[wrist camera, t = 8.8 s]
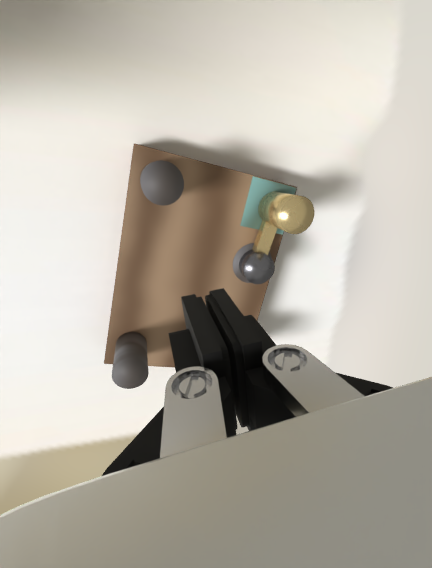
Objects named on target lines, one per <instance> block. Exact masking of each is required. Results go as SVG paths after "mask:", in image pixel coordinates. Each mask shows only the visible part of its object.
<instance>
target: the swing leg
mask: <svg viewBox="0 0 432 568" xmlns="http://www.w3.org/2000/svg"><path fill="white" fill-rule="evenodd" d="M258 213H259V216H260V218H261V220H262V222H261V225H260V228H259V231H258V234H257V237H256V240H255V243H254V245H253V248H252V250H249V251H247V252H246V253H245V254H244V255H243V256H242V257H241V259H240V262H239V269H240V272H241V274H242V275H243V276H244V277H245V278H246V279H247V280H248V281H249V282H251V283H253V284H262V283H265V282H266V281H268V280H269V279H270V278H271V277H272V275H273V273H274V268H275V266H274V262H273V260H272V258H271V257H269V256H268V253H269V250H270V247H271V245H272V242H273V239H274V236H275V234H276V231H277V228H278V229H281V230H283V231H285V232H288V233H290V234H299V233H302V232H304V231H305V230H306V229H307V228H308V227H309V226H310V225H311V223H312V221H313V218H314V207H313V204H312V203H311V201H310V200H309V199H308V198H306V197H303V196H298V195H293V194H287V193H281V192H270V193H267V194H266V195H265V196H264V197H263V198H262V199H261V201H260V203H259V206H258Z"/></svg>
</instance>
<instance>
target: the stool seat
mask: <svg viewBox="0 0 432 568" xmlns="http://www.w3.org/2000/svg"><path fill="white" fill-rule="evenodd" d="M296 190H297V187H295V186H291V185H288V184H284V183H280V182H276V181H273V180H269V179H265V178H261V177H258V176H254V175H250V174H246V173H243V172H239V171H235V170H232V169H228V168H224V167H220V166H217V165H213V164H209V163H205V162H202V161H198V160H194V159H190V158H187V157H183V156H179V155H175V154H172V153H168V152H164V151H160V150H157V149H153V148H149V147H145V146H142V145H138V144H134V147H133V154H132V161H131V169H130V176H129V183H128V191H127V198H126V205H125V213H124V220H123V227H122V235H121V242H120V250H119V257H118V264H117V272H116V279H115V286H114V294H113V301H112V308H111V316H110V323H109V330H108V338H107V345H106V352H105V360H104V364H113V370H112V379H113V381H114V382H115V384H117V385H118V386H119V387H122V388H127V389H131V388H136V387H138V386H140V385H142V384H143V383H144V382H145V381H146V379H147V377H148V366H159V367H175V364H174V359H173V354H172V349H171V344H170V339H169V334H168V333H172V332H176V331H180V330H185V329H186V324H185V318H184V312H183V307H182V301H181V297H182V296H187V295H192V294H195V295H196V297H202V299H203V301H204V303H205V305H206V302H205V296H206V295H209V292H210V291H212V290H217V289H222V288H224V289H225V291H226V292H227V294H228V295H229V296H230V298H231V299H232V300H233V302H234V303H235V305H236V306H237V307H238V309H239V310H240V311H241V313H242V314H243V316H247V315H252V316H253V317H254V318H255V319H256V320H257V319H258V316H259V313H260V309H261V306H262V303H263V299H264V296H265V293H266V289H267V286H268V283H269V280H268V281H266V282H265V283H262V284H253V283H251V282H249V281H248V280H247V279H246V278H245V277H244V276H243V275H242V274H241V272H240V269H239V262H240V259H241V257H242V256H243V255H244V254H245V253H246V252H247V251H249V250H252V248H253V245H254V243H255V240H256V237H257V234H258V231H259V228H260V225H261V222H262V220H261V218H260V216H259V213H258V206H259V203H260V201H261V199H262V198H263V197H264V196H265V195H266V194H267V193H270V192H281V193H287V194H293V195H295V193H296ZM283 233H284V231H283V230H281V229H278V228H277V231H276V234H275V236H274V239H273V242H272V245H271V247H270V250H269V253H268V256H269V257H271V258H272V260H273V262H274V263H275V260H276V256H277V253H278V250H279V246H280V243H281V240H282V236H283Z"/></svg>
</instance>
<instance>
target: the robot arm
mask: <svg viewBox="0 0 432 568" xmlns="http://www.w3.org/2000/svg"><path fill="white" fill-rule="evenodd" d="M181 301H182V307H183V312H184V318H185V324H186V329H185V330H180V331H176V332H172V333H168V334H169V339H170V344H171V349H172V354H173V359H174V364H175V369H176V373H175V374H174V375H173V376H171V378H170V379H169V380H168V382H167V385H166V390H165V402H164V407H163V408H162V409H161V410H160V411H159V412H158V413H157V415H156V416H155V417H154V418H153V419H152V420H151V421H150V422H149V423H148V424H147V425H146V427H145V428H144V429H143V430H142V431H141V432H140V433H139V434H138V435H137V436H136V437H135V439H134V440H133V441H132V442H131V443H130V444H129V445H128V446H127V447H126V448H125V449H124V450H123V452H122V453H121V454H120V455H119V456H118V457H117V458H116V459H115V461H113V462H112V464H111V465H110V466H109V467H108V468H107V469H106V470H105V472H104V473H103V475H102V476H101V477H98V478H95V479H92V480H89V481H86V482H83V483H80V484H77V485H74V486H71V487H68V488H65V489H63V490H59V491H57V492H54V493H51V494H48V495H45V496H42V497H40V498H37V499H35V500H33V501H30V502H28V503H25V504H23V505H21V506H18V507H16V508H13V509H11V510H9V511H7V512H5V513H3V514H1V515H0V568H432V377H429V378H426V379H423V380H419V381H416V382H412V383H409V384H406V385H402V386H399V387H395V388H393V387H390V386H387V385H382V384H379V383H375V382H371V381H367V380H363V379H359V378H354V377H350V376H347V375H343V374H339V373H335V372H333V371H332V370H331V369H330V368H328V367H327V366H326V365H325V364H323V363H322V362H321V361H320V360H318V359H317V358H316V357H315V356H313V355H312V354H311V353H309V352H308V351H307V350H305V349H303V348H302V347H299V346H296V345H289V344H285V345H277V346H276V344H275V343H274V342H273V341H272V339H271V338H270V337H269V336H268V334H267V333H266V332H265V330H264V329H263V328H262V327H261V325H260V324H259V323H258V322H257V320H256V319H255V318H254V317H253V316H252V315H247V316H243V314H242V313H241V311H240V310H239V309H238V307H237V306H236V305H235V303H234V302H233V300H232V299H231V298H230V296H229V295H228V294H227V292H226V291H225V289H224V288H222V289H217V290H212V291H210V292H209V295H206V296H205V302H206V305H205V303H204V301H203V299H202V297H196V295H195V294H192V295H187V296H182V297H181ZM236 415H237V418H238V420H239V423H240V425H241V427H245V426H247V427H248V430H249V431H248V432H245V433H241V434H238V435H236V429H237V420H236Z"/></svg>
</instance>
